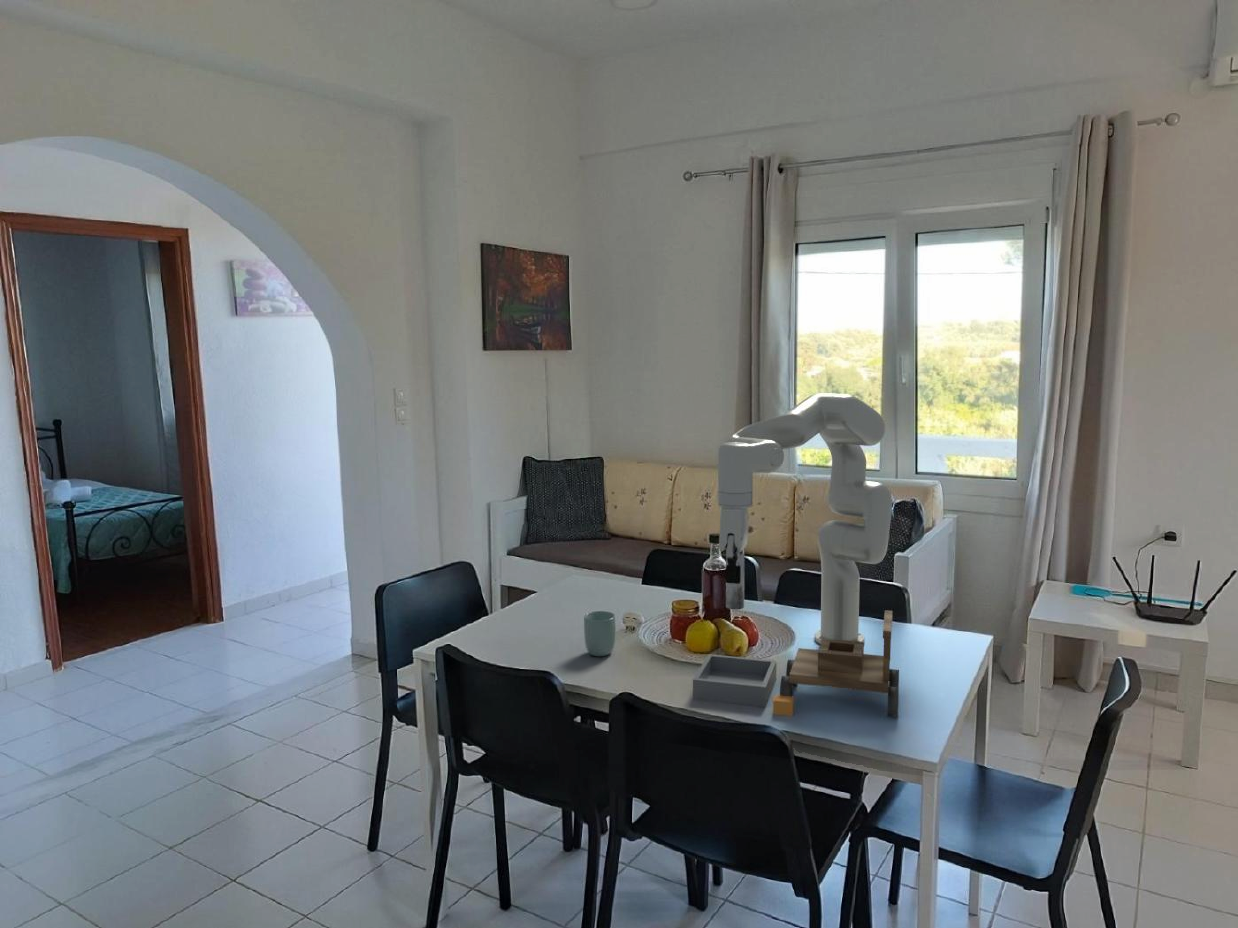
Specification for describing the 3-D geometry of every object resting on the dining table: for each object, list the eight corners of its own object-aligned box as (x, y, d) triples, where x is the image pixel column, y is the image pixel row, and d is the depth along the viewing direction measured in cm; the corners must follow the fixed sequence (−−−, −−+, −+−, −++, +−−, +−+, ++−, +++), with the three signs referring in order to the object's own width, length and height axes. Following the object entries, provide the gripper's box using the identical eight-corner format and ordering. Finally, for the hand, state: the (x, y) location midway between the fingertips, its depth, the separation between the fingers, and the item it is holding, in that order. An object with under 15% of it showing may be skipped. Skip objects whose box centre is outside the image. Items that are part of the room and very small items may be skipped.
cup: (595, 646, 228) (594, 609, 226) (621, 651, 224) (620, 613, 222) (579, 655, 221) (578, 617, 219) (605, 661, 217) (604, 622, 215)
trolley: (789, 680, 203) (790, 601, 200) (898, 691, 195) (900, 610, 192) (779, 708, 188) (780, 623, 185) (897, 721, 180) (899, 633, 177)
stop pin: (727, 603, 198) (728, 551, 196) (745, 604, 197) (745, 552, 195) (724, 608, 194) (724, 555, 193) (742, 610, 193) (742, 556, 191)
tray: (708, 672, 208) (708, 654, 208) (776, 679, 204) (776, 660, 203) (692, 698, 193) (692, 679, 193) (765, 707, 188) (765, 687, 188)
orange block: (775, 708, 188) (775, 694, 187) (794, 710, 187) (794, 696, 186) (773, 713, 185) (773, 700, 185) (792, 716, 184) (792, 702, 183)
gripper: (725, 491, 201) (725, 569, 204) (710, 505, 185) (710, 589, 188) (758, 493, 199) (758, 571, 201) (745, 506, 183) (745, 591, 186)
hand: (735, 579), depth 195 cm, fingers closed on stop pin, 4 cm apart
